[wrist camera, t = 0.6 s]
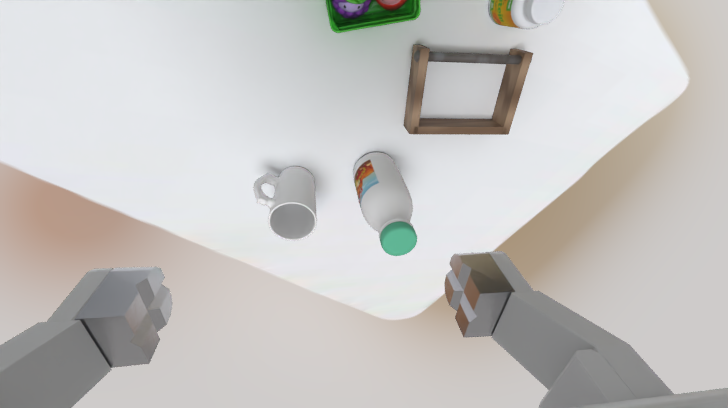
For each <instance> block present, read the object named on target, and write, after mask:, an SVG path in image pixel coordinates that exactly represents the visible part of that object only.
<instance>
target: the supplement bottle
mask: <svg viewBox="0 0 728 408" xmlns="http://www.w3.org/2000/svg"><path fill="white" fill-rule="evenodd" d="M563 5H564V0H490V2H489V14H490V17H491V19H492V20H493V21H494V22H495V23H496V24H498V25H502V26H509V27H515V28H521V29H533V28H536V27H538V26H539V25H543V24H548V23H550V22H552V21H553V20H554V19H555V18H556V17H557V16H558V15H559V14H560V12H561V10H562V8H563Z"/></svg>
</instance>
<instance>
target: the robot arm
mask: <svg viewBox="0 0 728 408" xmlns="http://www.w3.org/2000/svg"><path fill="white" fill-rule="evenodd" d="M450 266H451V268H452V270H451V271H450V272H449V273H448V274H447V275H446V279H445V294H446V298H447V300H448V303H449V305H450V306H451V307H452V308H454V309H455V310H456V311H457V313H456V316H455V319H456V321H457V323H458V326H459V328H460V330H461V332H462V334H463V337H479V336H480V337H481V336H492V338H493V339H494V340H495V341H496V342H497V343H498V344H499V345H500V346H501V347H503V348H504V349H505V350H506V351H507V352H508V353H509V354H510V355H511V356H512V357H514V358H515V359H516V360H517V361H518V362H519V363H520V364H521V365H522V366H523V367H524V368H525V369H527V370H528V371H529V372H530V373H531V374H532V375H533V376H534V377H535V378H536V379H537V380H539V381H540V382H541V383H542V384H543V385H544V386H545V387H546V388H547V389H548V390H549V391H548V392H547V394H546V395H545V397H544V398H543V399H542V401H541V403H540V405H539V408H728V388H723V389H715V390H708V391H698V392H691V393H683V394H673V393H672V391H671V390H670V389H669V388H668V387H667V386H666V385H665V384H664V383H663V381H662V380H661V379H660V378H659V377H658V376H657V375H656V374H655V372H653V370H652V369H651V368H650V367H649V366H648V365H647V364H646V363H645V361H644V360H643V359H642V358H641V357H640V356H639V355H638V354H637V352H635V350H634V349H633V348H632V347H631V346H630V345H629V344H627V343H626V342H624V341H622V340H621V339H619V338H617V337H616V336H614V335H612V334H611V333H609V332H607V331H606V330H604V329H602V328H601V327H599V326H597V325H595V324H594V323H592V322H590V321H589V320H587V319H585V318H584V317H582V316H580V315H579V314H577V313H575V312H573V311H572V310H570V309H568V308H567V307H565V306H563V305H561V304H560V303H558V302H557V301H555V300H553V299H552V298H550V297H548V296H546V295H545V294H543V293H541V292H540V291H533V290H532V288H531V287H530V286H529V284H528V283H527V281H526V280H525V279H524V277H523V276H522V275H521V273H520V272H519V271H518V269H517V268H516V267H515V265H514V264H513V263H512V261H511V260H510V259H509V257H508V256H507V255H506V254H505V253H504V252H502V251H499V252H498V251H497V252H485V253H484V252H482V253H463V254H454V255H453V256H452V257H451V261H450ZM164 278H165V277H164V274H163V272H162V270H161V268H158V267H129V268H103V269H93V270H90V271H88V272H87V273H86V274H85V276H84V277H83V278H82V279H81V280H80V282H79V283H78V284H77V285H76V286H75V288H74V289H73V290H72V291H71V293H70V294H69V295H68V296H67V297H66V299H65V300H64V301H63V302H62V304H61V305H60V306H59V307H58V308H57V310H56V311H55V312H54V313H53V315H52V316H51V317H50V318H49V319H48V321H47V322H41V323H37V324H36V325H34V326H32V327H31V328H29V329H27V330H25V331H24V332H22V333H20V334H19V335H17V336H15V337H14V338H12V339H10V340H9V341H7V342H5V343H4V344H2V345H0V408H71V407H72V406H74V405H75V404H76V403H77V402H78V401H79V400H80V399H81V398H82V397H83V396H84V395H85V394H86V393H87V392H88V391H89V390H90V389H92V388H93V387H94V386H95V385H96V384H97V383H98V382H99V381H100V380H101V379H102V378H103V377H104V376H105V375H106V374H107V373H108V372H110V370H111V368H112V367H122V366H131V365H140V364H149V363H150V361H151V358H152V356H153V354H154V352H155V349H156V347H157V345H158V343H159V341H160V338H159V336H158V334H157V332H158V331H159V330H160V329H162V328H163V327H164V326H165V325H166V324H167V322H168V320H169V317H170V315H171V310H172V296H171V293H170V290H169V289H168V288H166V287H165V286H164V285H162V282H163V280H164Z"/></svg>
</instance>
